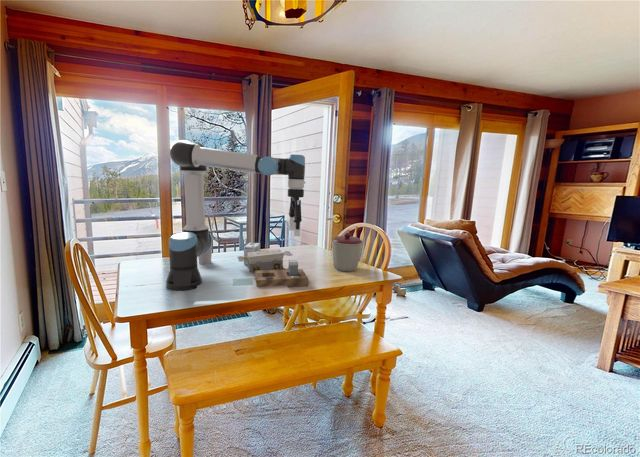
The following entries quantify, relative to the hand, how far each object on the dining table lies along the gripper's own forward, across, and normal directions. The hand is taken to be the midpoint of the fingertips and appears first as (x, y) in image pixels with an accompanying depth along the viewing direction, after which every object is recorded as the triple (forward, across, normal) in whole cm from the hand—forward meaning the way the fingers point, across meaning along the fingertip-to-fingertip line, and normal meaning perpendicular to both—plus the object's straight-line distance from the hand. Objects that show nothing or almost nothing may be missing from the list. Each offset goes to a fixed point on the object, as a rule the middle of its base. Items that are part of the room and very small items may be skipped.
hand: (294, 233), depth 155 cm
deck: (+24, 0, +24) cm, 34 cm away
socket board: (+24, 0, +6) cm, 25 cm away
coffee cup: (+25, +37, +44) cm, 62 cm away
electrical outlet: (+25, +20, +12) cm, 34 cm away
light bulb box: (+25, +34, +18) cm, 46 cm away
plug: (+24, 0, 0) cm, 24 cm away
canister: (+24, +17, -33) cm, 45 cm away
